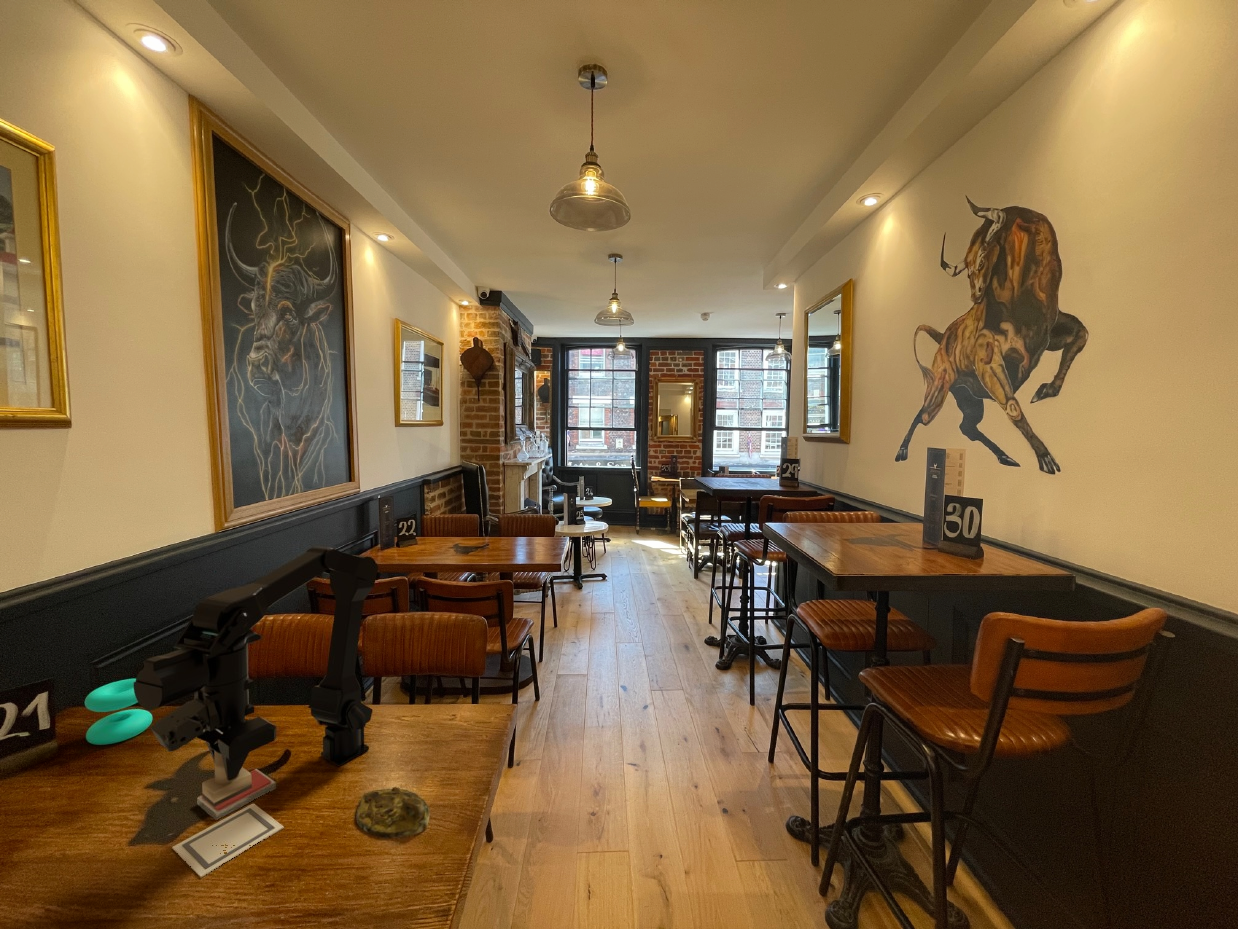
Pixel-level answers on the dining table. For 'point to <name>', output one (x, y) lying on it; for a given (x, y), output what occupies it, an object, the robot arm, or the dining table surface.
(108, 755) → the dining table surface
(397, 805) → the olive brown oval relief
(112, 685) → the donuts
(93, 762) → the dining table surface
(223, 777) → the stamp
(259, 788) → the ink pad
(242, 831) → the card
